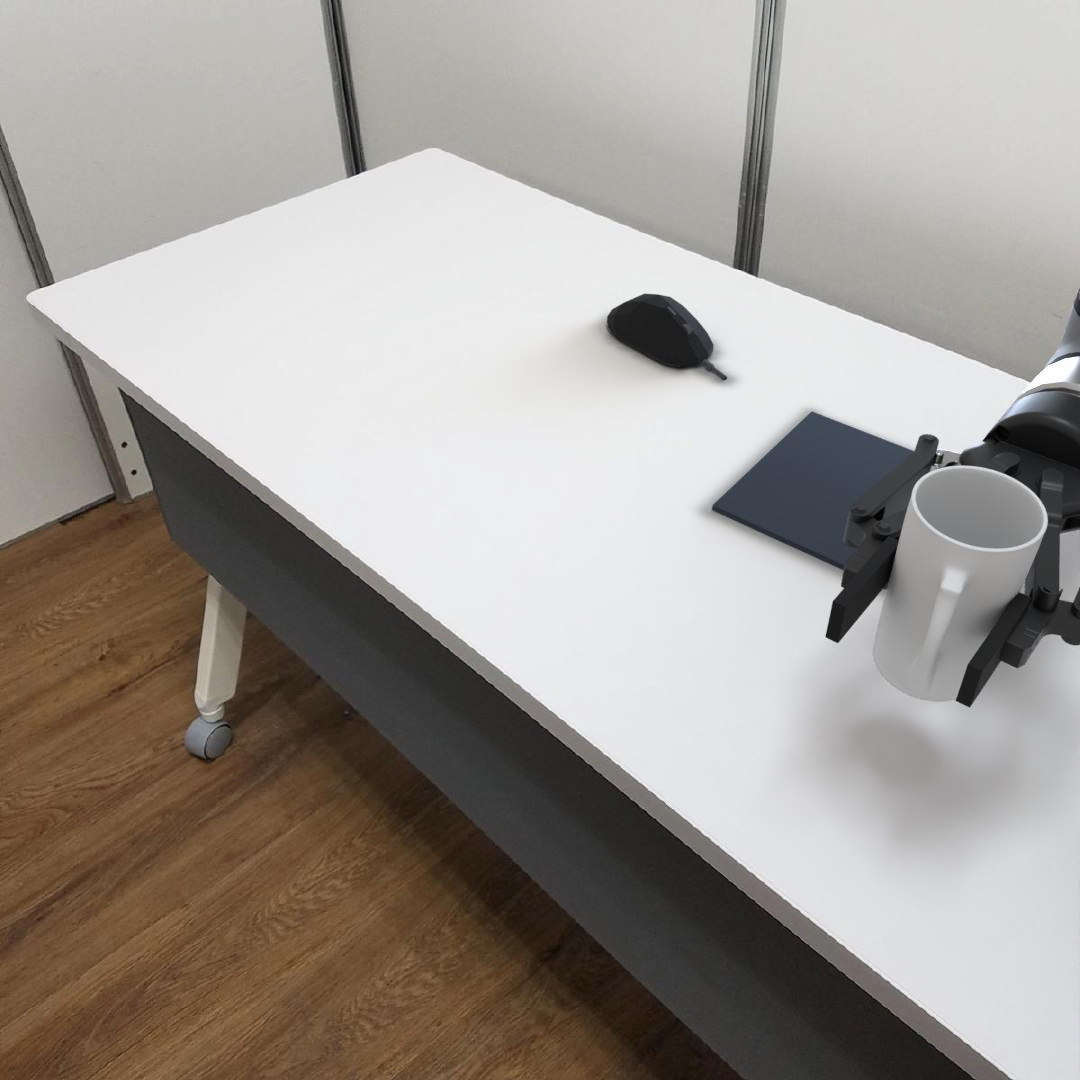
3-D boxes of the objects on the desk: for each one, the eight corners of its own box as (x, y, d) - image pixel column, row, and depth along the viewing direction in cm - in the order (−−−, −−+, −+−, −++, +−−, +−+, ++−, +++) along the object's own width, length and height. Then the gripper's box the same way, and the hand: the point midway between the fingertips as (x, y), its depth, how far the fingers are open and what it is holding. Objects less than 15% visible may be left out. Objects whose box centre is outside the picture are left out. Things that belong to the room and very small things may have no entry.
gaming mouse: (700, 392, 101) (703, 354, 99) (593, 326, 110) (594, 289, 107) (750, 367, 104) (754, 330, 101) (642, 305, 113) (644, 268, 110)
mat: (989, 485, 91) (991, 480, 90) (901, 596, 81) (902, 591, 81) (810, 415, 98) (811, 410, 98) (711, 510, 89) (712, 505, 89)
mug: (884, 606, 70) (928, 451, 62) (996, 643, 67) (1058, 487, 59) (837, 721, 63) (880, 565, 55) (959, 767, 61) (1023, 611, 53)
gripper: (1204, 548, 69) (1071, 794, 56) (904, 434, 79) (729, 622, 65) (1253, 448, 64) (1119, 693, 51) (926, 340, 74) (741, 522, 60)
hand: (900, 653), depth 58 cm, fingers closed on mug, 7 cm apart
